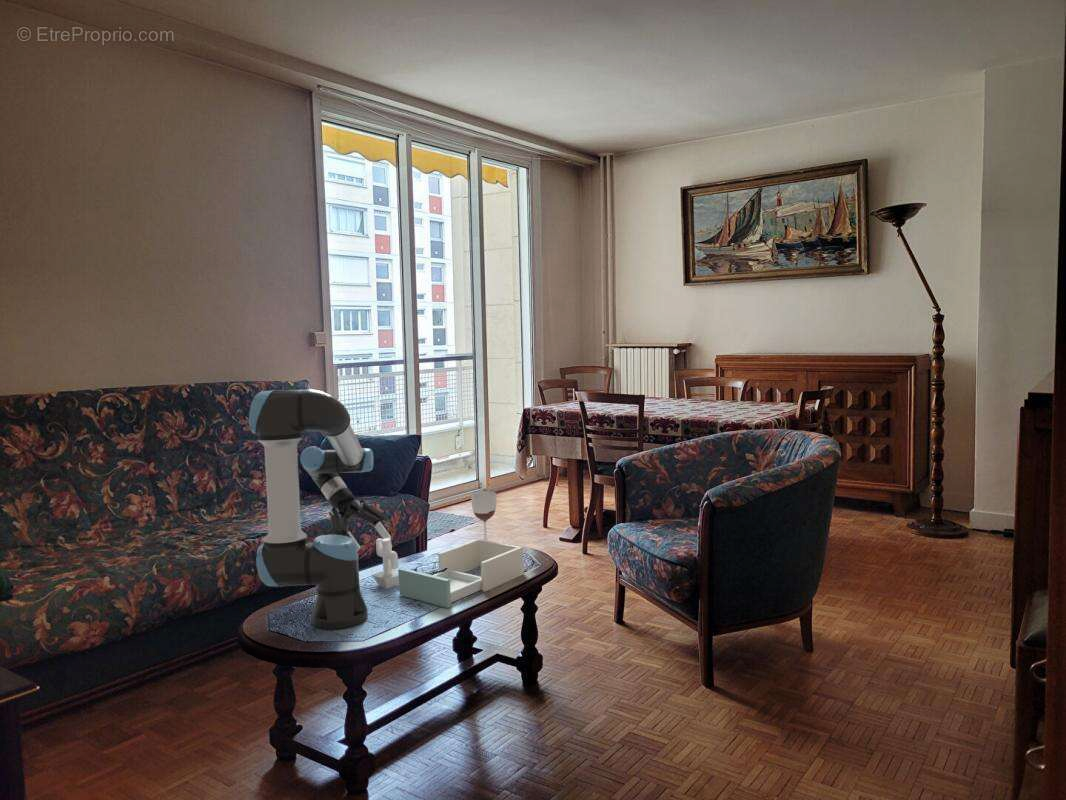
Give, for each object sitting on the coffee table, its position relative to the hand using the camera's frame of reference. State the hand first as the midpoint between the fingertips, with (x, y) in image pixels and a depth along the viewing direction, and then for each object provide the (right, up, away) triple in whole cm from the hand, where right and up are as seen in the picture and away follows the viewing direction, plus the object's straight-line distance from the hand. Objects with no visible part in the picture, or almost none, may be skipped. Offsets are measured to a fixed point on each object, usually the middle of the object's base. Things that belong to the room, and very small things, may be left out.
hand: (373, 545), depth 247 cm
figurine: (+5, -12, -3) cm, 14 cm away
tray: (+24, -12, -12) cm, 30 cm away
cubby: (+35, -11, +1) cm, 36 cm away
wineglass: (+35, -9, +25) cm, 43 cm away
